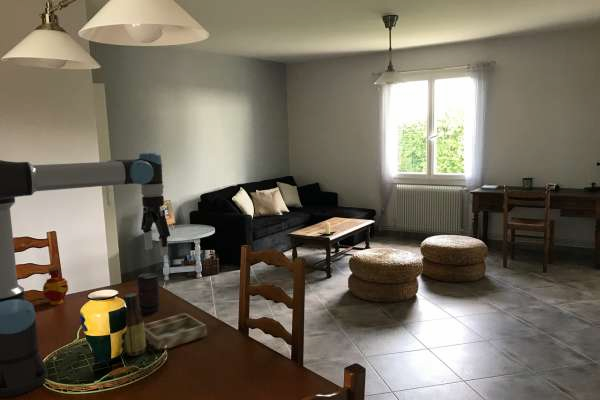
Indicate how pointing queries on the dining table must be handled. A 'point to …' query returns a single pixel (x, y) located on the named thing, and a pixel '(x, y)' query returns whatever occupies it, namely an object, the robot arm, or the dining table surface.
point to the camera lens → (148, 292)
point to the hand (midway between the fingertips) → (156, 252)
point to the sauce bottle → (134, 327)
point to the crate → (174, 330)
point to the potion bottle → (55, 287)
